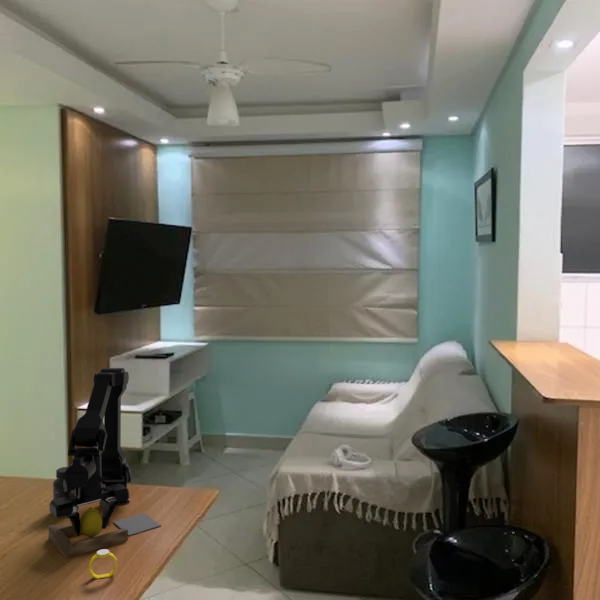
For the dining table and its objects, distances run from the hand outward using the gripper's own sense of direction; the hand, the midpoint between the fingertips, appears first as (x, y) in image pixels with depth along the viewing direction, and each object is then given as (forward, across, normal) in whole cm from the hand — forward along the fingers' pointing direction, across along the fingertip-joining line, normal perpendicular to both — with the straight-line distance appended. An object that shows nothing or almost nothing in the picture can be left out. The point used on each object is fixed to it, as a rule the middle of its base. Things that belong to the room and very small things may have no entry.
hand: (91, 532), depth 157 cm
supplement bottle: (+2, -1, -21) cm, 21 cm away
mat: (+2, -12, 0) cm, 13 cm away
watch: (+2, +5, +20) cm, 21 cm away
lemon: (+2, 0, 0) cm, 2 cm away
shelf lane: (+2, 0, 0) cm, 2 cm away
